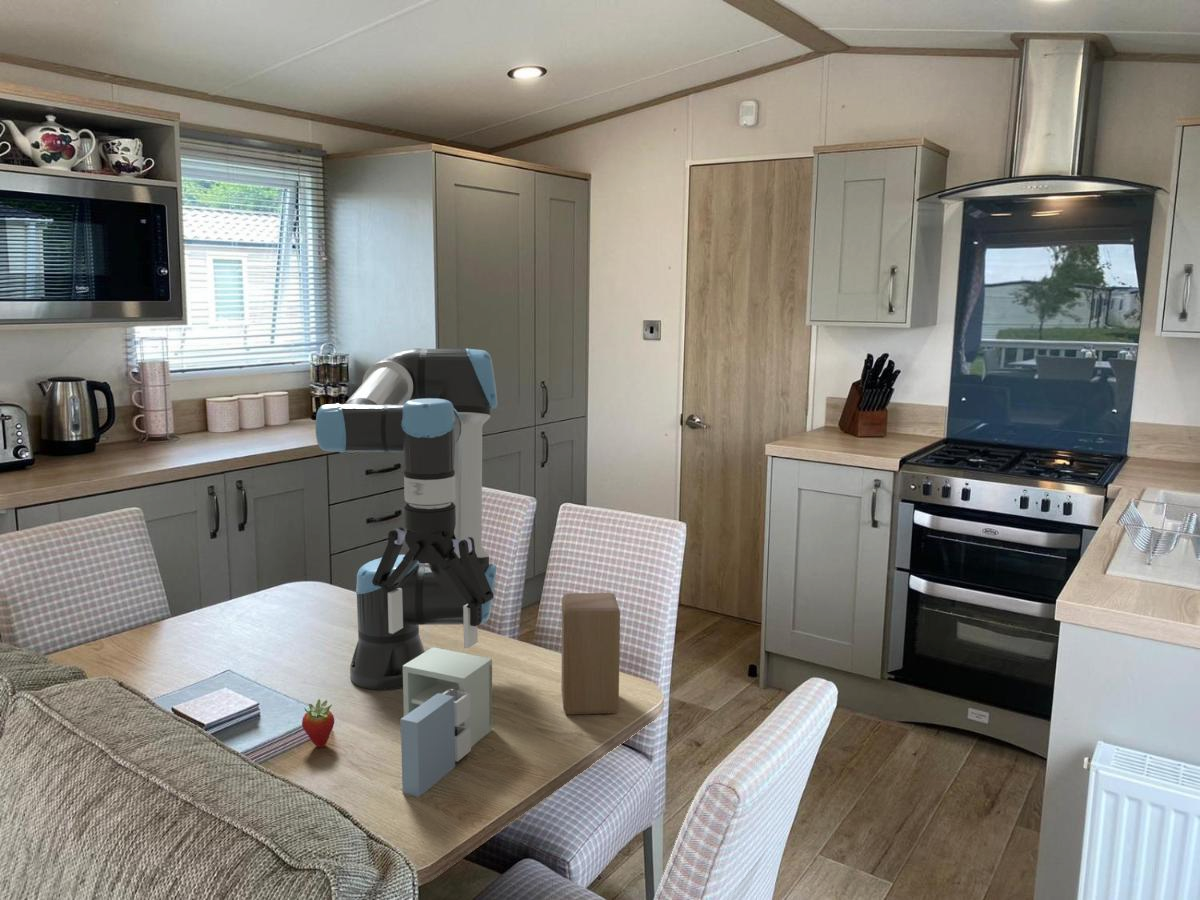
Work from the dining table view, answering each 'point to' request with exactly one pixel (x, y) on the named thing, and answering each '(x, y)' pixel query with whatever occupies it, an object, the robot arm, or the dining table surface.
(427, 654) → the cabinet
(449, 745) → the door
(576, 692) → the wooden block
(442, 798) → the dining table surface
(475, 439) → the robot arm
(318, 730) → the fruit
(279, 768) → the dining table surface
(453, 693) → the hinge pin
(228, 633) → the dining table surface
